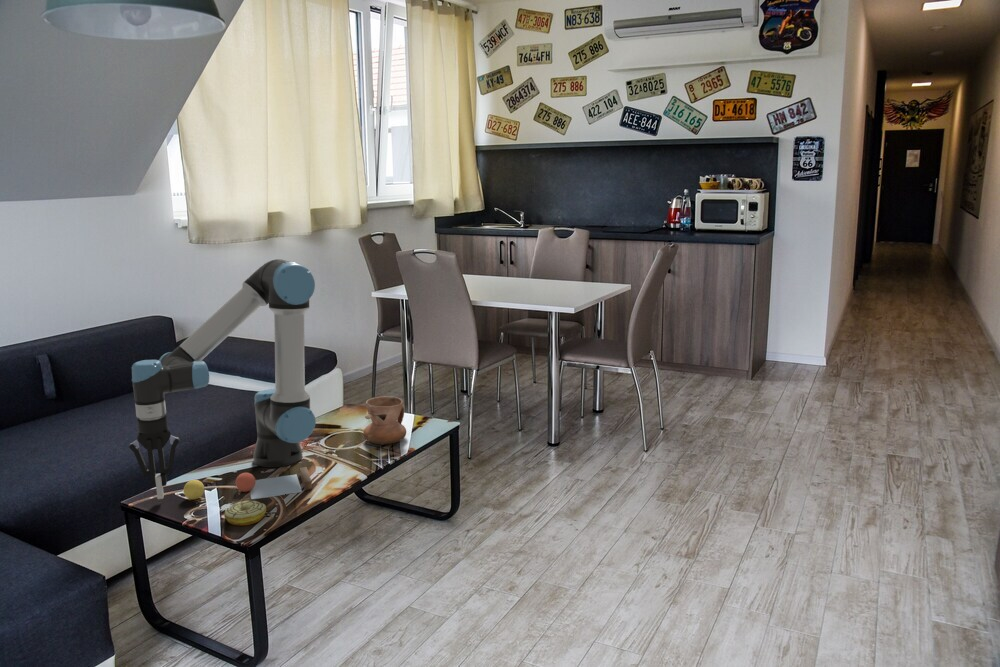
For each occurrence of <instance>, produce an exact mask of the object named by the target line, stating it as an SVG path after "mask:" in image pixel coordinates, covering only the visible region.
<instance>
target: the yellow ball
mask: <svg viewBox="0 0 1000 667" xmlns="http://www.w3.org/2000/svg"><path fill="white" fill-rule="evenodd" d="M183 493H184V496H185V497H186V498H188V500H197V499H200V498H201V497H202V496H203V495H204V493H205V485H204V484H203V482H202V481H200V480H198V479H191V480H188V481H187V482H186V483H185V484H184V487H183Z"/></svg>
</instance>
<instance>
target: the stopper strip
mask: <svg viewBox="0 0 1000 667" xmlns="http://www.w3.org/2000/svg"><path fill="white" fill-rule="evenodd" d="M299 474H300V475H299V476H300V479H301V482H302V485H303V488H304V490H305V491H309V490H313V484H312V479H311V476H310V473H309V470H308V467H307V466H304V467H299Z"/></svg>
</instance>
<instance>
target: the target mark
mask: <svg viewBox="0 0 1000 667" xmlns="http://www.w3.org/2000/svg"><path fill="white" fill-rule="evenodd" d="M249 492H250V501H254V500H258V499H265V498H271V497H278V496H284V495H285V494H286V495H291V493H292V494H298V493H303V490H302V487H301V485H300V480H299V478H298V475H297V473H296V474H290V475H281V476H274V477H269V478H261V479H255V486H254V488H253V489H252V490H250V491H249Z"/></svg>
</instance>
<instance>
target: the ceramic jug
mask: <svg viewBox="0 0 1000 667" xmlns="http://www.w3.org/2000/svg"><path fill="white" fill-rule="evenodd" d="M365 407H366V410H367V414H366V415H365V416H364V418H365V419H366V420H371V423H369V424H368V425H366V426H365V428H364V429H363V437H364V439H365V440H366V441H367V442H369V443H372V444H375V445H391V444H395V443H397V442H400V441H402V440H403V439H404V438H405V437H406V436H407V429H406V427H405V425H403V424H402V423H403V420H404V415H405V407H404V405H403V399H402V398H401V397H400V398H399V397H398V396H389V395H388V396H387V395H386V396H376V397H372V398H369V399H367V400H366V402H365Z"/></svg>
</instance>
